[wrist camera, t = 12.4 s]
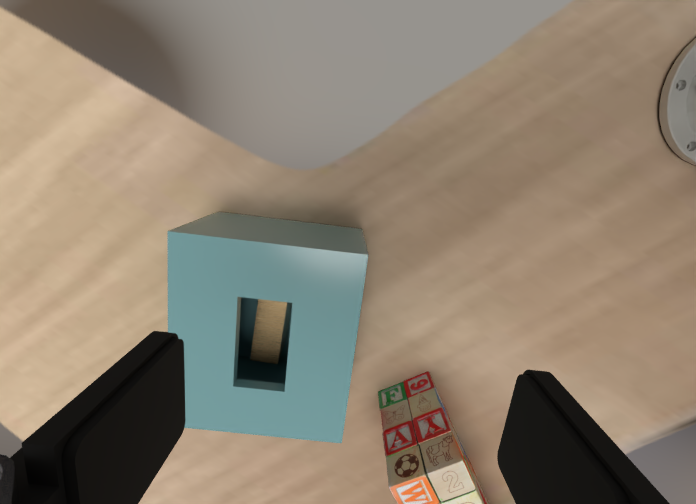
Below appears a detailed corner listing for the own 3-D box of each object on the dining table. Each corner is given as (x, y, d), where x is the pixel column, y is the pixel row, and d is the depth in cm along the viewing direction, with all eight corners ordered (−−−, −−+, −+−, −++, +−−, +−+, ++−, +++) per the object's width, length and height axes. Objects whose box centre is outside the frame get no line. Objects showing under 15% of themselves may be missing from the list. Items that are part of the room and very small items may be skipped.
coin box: (362, 228, 35) (368, 254, 25) (342, 372, 38) (341, 443, 29) (218, 211, 34) (167, 231, 24) (213, 358, 38) (168, 425, 28)
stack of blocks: (492, 508, 43) (547, 639, 32) (444, 525, 44) (481, 660, 32) (428, 369, 39) (464, 461, 27) (375, 390, 39) (388, 490, 27)
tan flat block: (286, 337, 37) (296, 275, 35) (277, 364, 32) (288, 293, 30) (262, 333, 37) (271, 270, 35) (250, 359, 32) (259, 288, 30)
